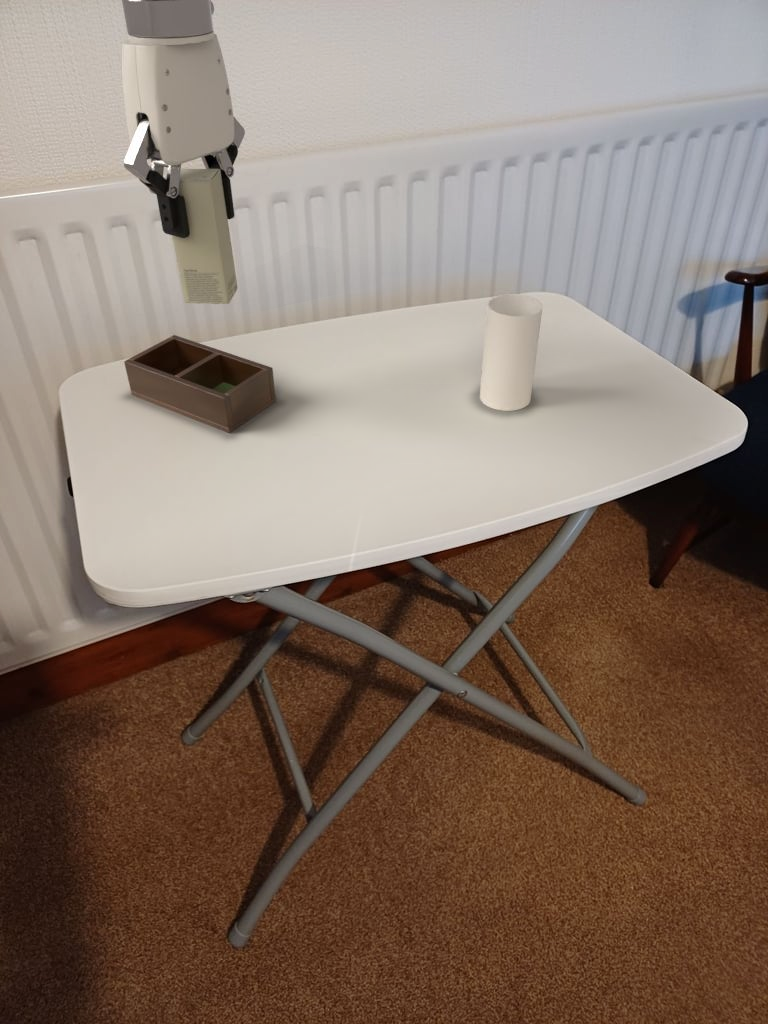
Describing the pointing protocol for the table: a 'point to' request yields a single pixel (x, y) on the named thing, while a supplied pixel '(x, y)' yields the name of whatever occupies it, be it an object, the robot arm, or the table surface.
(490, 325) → the cup
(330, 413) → the table surface
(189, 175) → the box
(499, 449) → the table surface
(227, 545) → the table surface
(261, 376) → the divided tray
